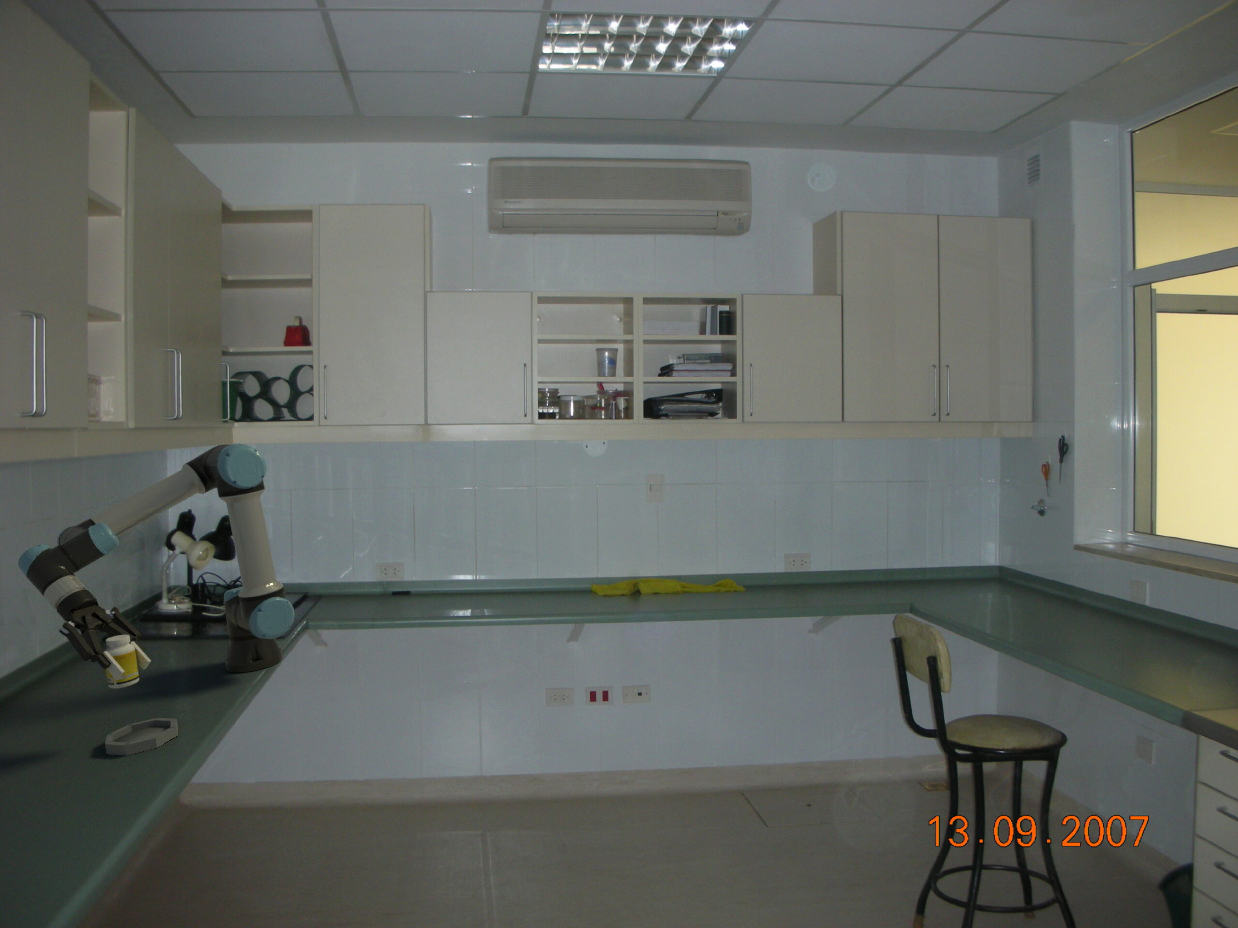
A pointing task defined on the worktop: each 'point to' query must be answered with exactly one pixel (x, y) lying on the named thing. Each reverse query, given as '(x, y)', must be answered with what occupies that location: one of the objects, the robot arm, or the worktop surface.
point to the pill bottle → (122, 661)
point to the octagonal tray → (141, 736)
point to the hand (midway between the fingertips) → (134, 670)
